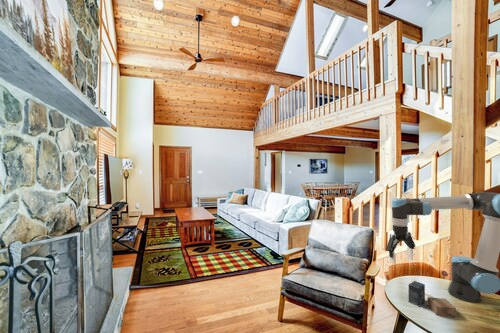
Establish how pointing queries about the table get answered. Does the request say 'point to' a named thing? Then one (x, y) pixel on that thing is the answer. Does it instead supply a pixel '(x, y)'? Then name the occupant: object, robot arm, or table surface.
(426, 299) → the coaster
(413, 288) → the box
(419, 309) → the table surface
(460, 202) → the robot arm
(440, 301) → the block
